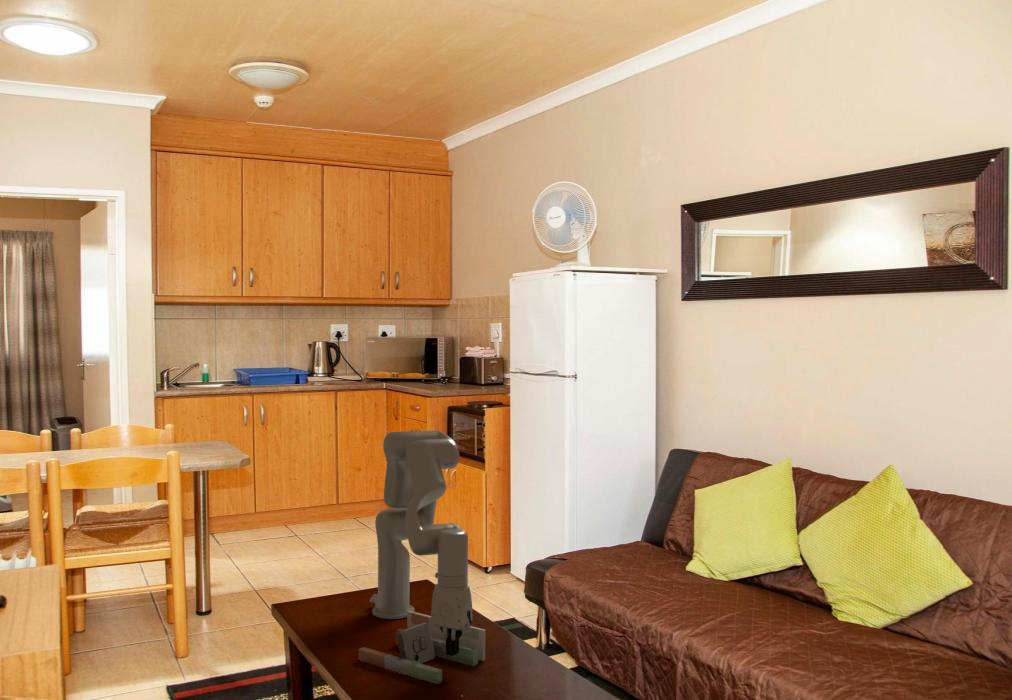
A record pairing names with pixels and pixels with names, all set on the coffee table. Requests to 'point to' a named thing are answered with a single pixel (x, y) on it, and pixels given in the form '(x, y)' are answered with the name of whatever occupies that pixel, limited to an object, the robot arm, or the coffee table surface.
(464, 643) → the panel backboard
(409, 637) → the electrical switch
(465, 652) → the far rail
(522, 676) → the coffee table surface
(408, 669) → the near rail
